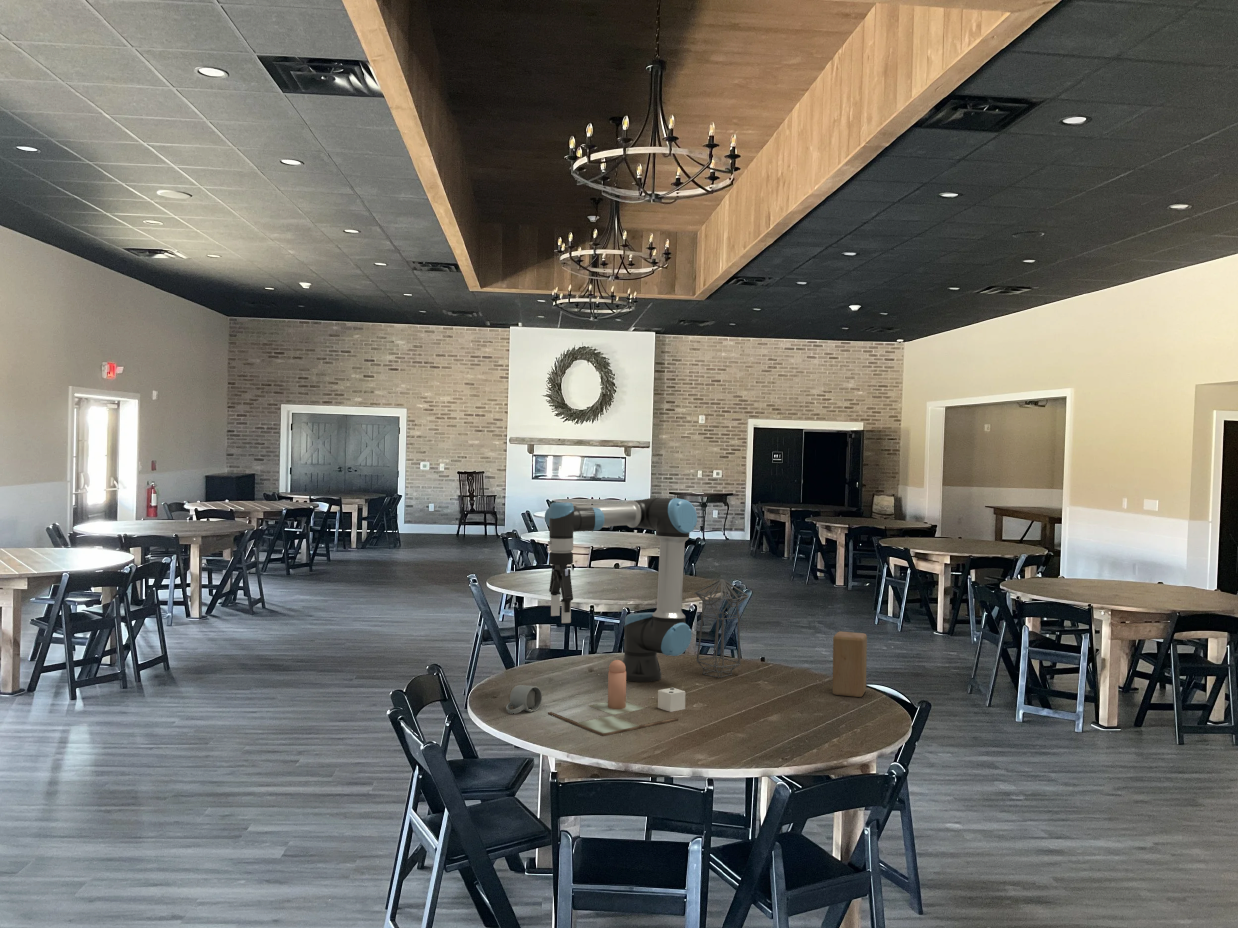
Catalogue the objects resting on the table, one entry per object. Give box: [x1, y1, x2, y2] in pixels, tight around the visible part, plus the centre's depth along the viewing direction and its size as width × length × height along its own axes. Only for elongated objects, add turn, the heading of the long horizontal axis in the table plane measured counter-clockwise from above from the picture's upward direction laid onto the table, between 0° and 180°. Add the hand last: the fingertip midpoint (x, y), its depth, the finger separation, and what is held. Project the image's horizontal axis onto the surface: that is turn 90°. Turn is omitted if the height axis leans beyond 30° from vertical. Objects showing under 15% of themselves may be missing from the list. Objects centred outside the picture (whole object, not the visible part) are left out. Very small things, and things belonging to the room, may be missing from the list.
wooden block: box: [832, 630, 868, 698], centre depth 314 cm, size 10×10×20 cm
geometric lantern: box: [693, 578, 749, 679], centre depth 339 cm, size 16×16×35 cm
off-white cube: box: [657, 687, 686, 713], centre depth 288 cm, size 6×6×6 cm
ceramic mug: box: [505, 684, 543, 715], centre depth 286 cm, size 11×8×8 cm
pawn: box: [607, 659, 627, 709], centre depth 289 cm, size 6×6×15 cm
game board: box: [547, 701, 679, 737], centre depth 279 cm, size 28×28×1 cm
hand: (560, 619), depth 291 cm, fingers open, 13 cm apart
